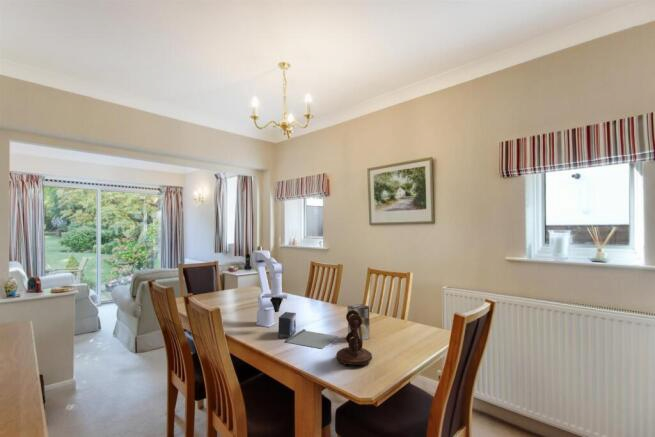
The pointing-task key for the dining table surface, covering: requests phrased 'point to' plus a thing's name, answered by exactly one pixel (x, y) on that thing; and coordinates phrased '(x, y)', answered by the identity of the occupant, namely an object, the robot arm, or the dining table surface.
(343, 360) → the brown tall round-based figurine
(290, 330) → the small box
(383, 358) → the dining table surface
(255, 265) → the robot arm
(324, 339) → the mat
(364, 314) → the coffee box
